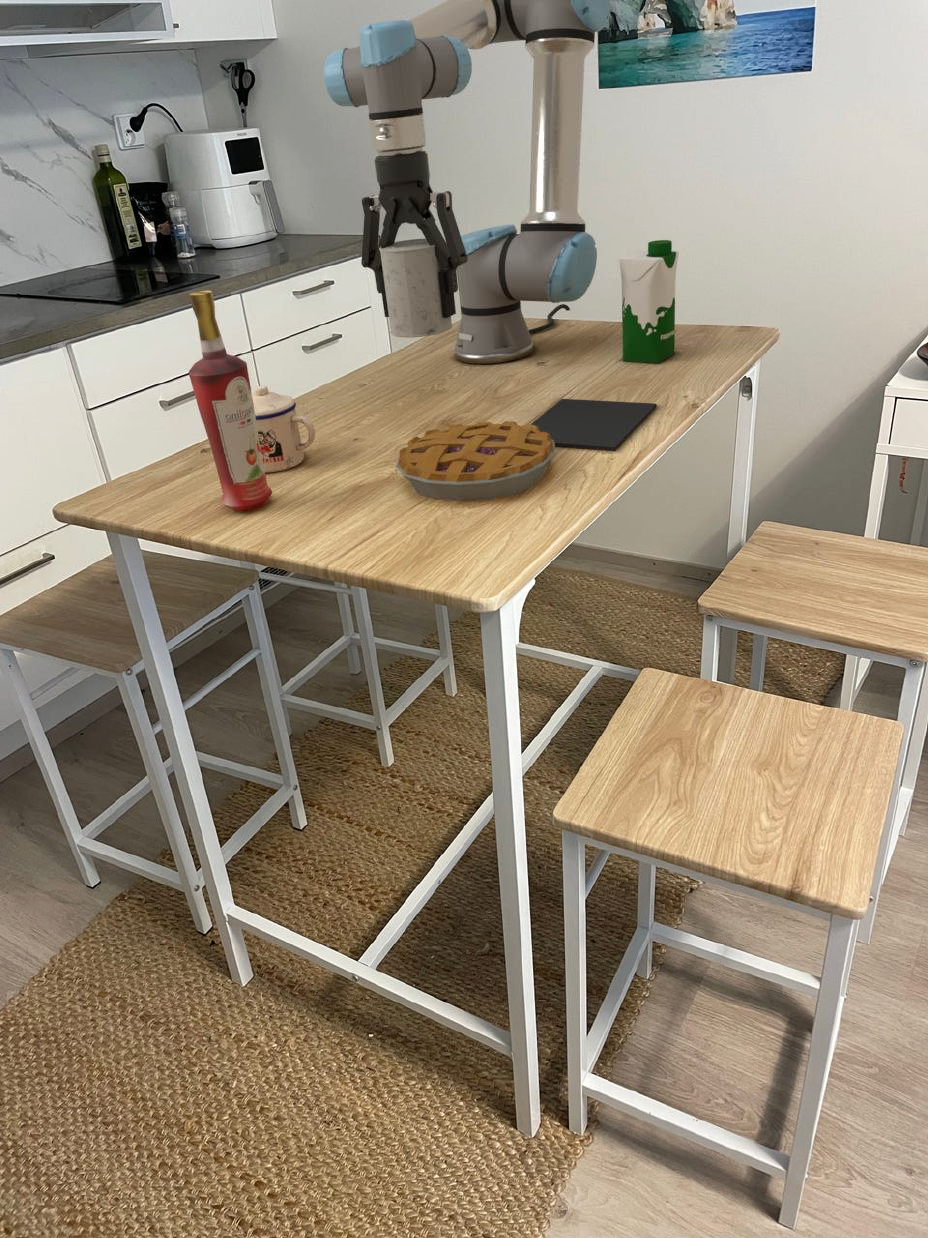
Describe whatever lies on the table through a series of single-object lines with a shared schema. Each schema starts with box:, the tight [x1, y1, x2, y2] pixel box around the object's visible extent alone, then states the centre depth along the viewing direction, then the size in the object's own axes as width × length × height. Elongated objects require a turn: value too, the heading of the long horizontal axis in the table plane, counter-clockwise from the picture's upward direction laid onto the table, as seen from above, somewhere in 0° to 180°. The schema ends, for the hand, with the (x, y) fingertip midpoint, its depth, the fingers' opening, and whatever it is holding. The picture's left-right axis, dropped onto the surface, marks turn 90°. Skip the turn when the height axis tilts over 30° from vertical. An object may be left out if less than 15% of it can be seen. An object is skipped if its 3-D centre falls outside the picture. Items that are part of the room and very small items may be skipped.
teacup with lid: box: [252, 385, 316, 473], centre depth 139 cm, size 12×9×12 cm
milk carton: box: [618, 239, 679, 364], centre depth 168 cm, size 9×9×20 cm
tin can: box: [379, 237, 454, 339], centre depth 141 cm, size 10×10×12 cm
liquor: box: [188, 290, 273, 513], centre depth 122 cm, size 7×7×28 cm
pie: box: [395, 420, 556, 502], centre depth 129 cm, size 22×22×5 cm
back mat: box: [529, 398, 658, 452], centre depth 144 cm, size 20×16×1 cm
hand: (420, 315), depth 143 cm, fingers closed on tin can, 9 cm apart
